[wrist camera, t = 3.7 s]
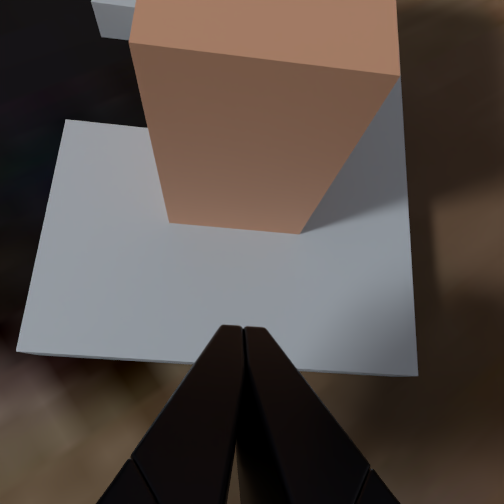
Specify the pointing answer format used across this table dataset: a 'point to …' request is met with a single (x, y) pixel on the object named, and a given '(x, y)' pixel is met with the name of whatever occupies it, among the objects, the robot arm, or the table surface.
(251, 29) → the block
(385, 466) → the table surface
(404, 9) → the table surface
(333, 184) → the trap board
